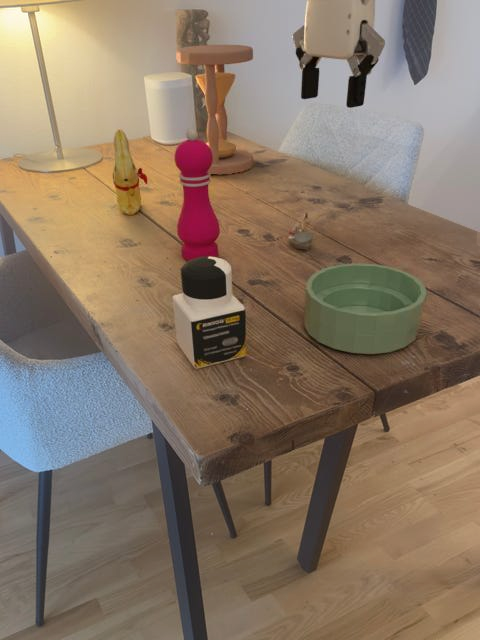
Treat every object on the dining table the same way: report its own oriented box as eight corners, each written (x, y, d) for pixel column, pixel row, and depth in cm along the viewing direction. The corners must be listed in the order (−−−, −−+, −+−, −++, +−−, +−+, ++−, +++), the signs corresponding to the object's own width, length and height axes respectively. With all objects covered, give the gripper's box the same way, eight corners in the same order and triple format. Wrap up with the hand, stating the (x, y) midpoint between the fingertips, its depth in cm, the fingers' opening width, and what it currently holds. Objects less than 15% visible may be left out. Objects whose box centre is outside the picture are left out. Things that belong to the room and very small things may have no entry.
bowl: (393, 297, 84) (399, 259, 81) (437, 350, 73) (446, 308, 69) (292, 307, 83) (294, 268, 79) (321, 363, 71) (324, 320, 67)
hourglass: (201, 155, 152) (194, 44, 137) (262, 159, 148) (262, 44, 132) (173, 172, 140) (162, 52, 124) (239, 178, 135) (237, 53, 119)
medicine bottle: (195, 370, 70) (187, 280, 63) (176, 344, 75) (167, 257, 68) (247, 357, 72) (245, 268, 65) (225, 332, 77) (221, 247, 70)
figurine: (312, 253, 98) (314, 218, 95) (287, 252, 99) (288, 217, 95) (313, 241, 102) (315, 208, 99) (288, 241, 103) (289, 207, 99)
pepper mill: (191, 267, 95) (181, 136, 82) (172, 253, 100) (159, 127, 87) (228, 257, 98) (223, 129, 85) (208, 244, 102) (200, 121, 90)
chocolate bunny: (118, 218, 114) (105, 137, 105) (117, 202, 123) (105, 125, 113) (152, 216, 115) (142, 135, 106) (149, 199, 124) (139, 123, 114)
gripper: (411, -43, 73) (391, 106, 84) (316, -40, 84) (309, 92, 94) (373, -43, 70) (356, 113, 80) (279, -40, 80) (276, 98, 91)
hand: (331, 102), depth 87 cm, fingers open, 9 cm apart
